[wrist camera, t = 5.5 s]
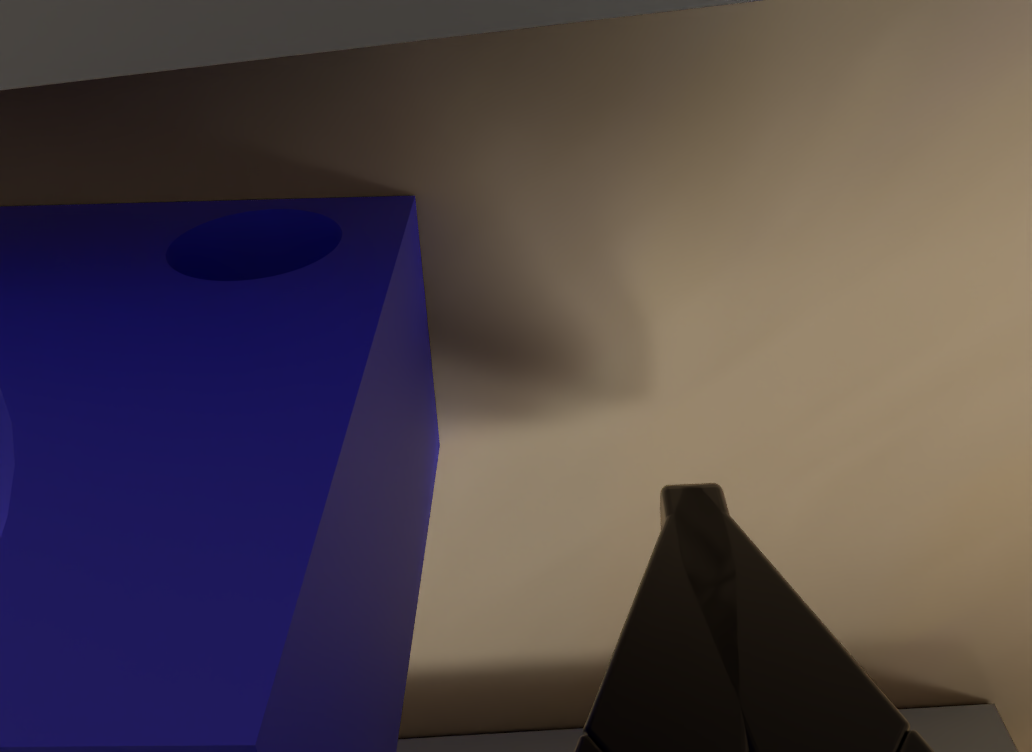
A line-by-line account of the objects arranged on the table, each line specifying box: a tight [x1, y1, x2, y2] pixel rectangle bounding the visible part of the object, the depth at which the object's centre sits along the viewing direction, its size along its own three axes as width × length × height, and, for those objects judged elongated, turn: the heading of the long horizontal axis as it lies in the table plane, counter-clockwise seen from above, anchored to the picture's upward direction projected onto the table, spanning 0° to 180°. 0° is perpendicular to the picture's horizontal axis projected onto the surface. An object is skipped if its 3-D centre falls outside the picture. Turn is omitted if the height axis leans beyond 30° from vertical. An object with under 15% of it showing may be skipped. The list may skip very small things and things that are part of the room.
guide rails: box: [0, 0, 1018, 752], centre depth 9 cm, size 12×21×3 cm, turn 97°
